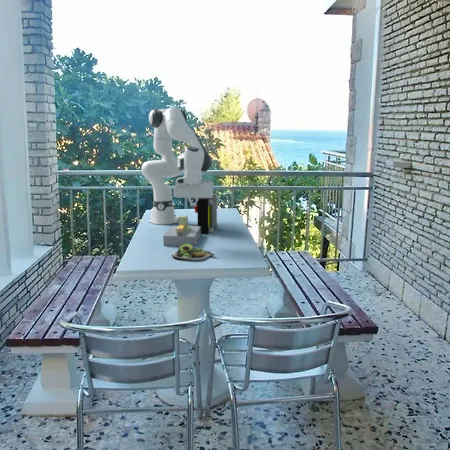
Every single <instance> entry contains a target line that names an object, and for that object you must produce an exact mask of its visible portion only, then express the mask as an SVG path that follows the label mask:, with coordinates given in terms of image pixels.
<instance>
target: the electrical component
mask: <svg viewBox="0 0 450 450" xmlns="http://www.w3.org/2000/svg"><path fill="white" fill-rule="evenodd" d="M218 200H219V197H218V196H217V195H216V194H213V197H212V198H199V200H198V201H197V206H196V207H194V206H193V207H194V213H195V214H197V226H201V235H210V234H212V233H214V230H215V229H216V228H218V227H219V223H218V206H217V205H218ZM195 202H196V200H195ZM195 202H194V203H195Z"/></svg>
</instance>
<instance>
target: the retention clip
mask: <svg viewBox="0 0 450 450" xmlns="http://www.w3.org/2000/svg"><path fill="white" fill-rule="evenodd" d="M178 226H179V225H178ZM184 228H185V225H180V226H179V227H178V228H177V235H178V236H181V235H182V231H183V230H184Z"/></svg>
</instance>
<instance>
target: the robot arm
mask: <svg viewBox="0 0 450 450" xmlns="http://www.w3.org/2000/svg"><path fill="white" fill-rule="evenodd" d="M187 121H188V115H187V113H186V111H185V110H183V109H179V108H178V107H176V106H171V107H169V108H155V109H151V110H150V112H149V114H148V122H149V124H150V126H151V127H152V128H154V129H153V130H154V131H153V147H152V148H153V151H154V152H155V153H156V154H158V155H160V156H161V159H157V160H155V159H154V160H148V161H145V162H143V163H142V165H141V175H142V176H143V178H146V179H147V181H149V182H150V184H151V187H152V191H153V202H152V204H153V205H152V206H153V207H152V208H151V210H150V219H149V220H148V223H151V224H153V225H172V224H179V216H177V214H175V213H176V212H175V207H174V202H173V198H172V197H174V198H176V199H181V198H182V199H183V198H184V199H188V202H189V204H190V205H189V206H190V207H196V206H197V201H198V200H199V198H212V197H213V195H214V190H213V188H214V182H213V181H212V180H211V179H203V173H205V172H208V171H209V170H210V169H211V167H212V165H213V164H212V163H213V161H212V158H211V155H210V154H209V153H208V152H207V150H206V148H205V147H204V146H205V145H204V144H203V143H202V141H201V139H200V138H199V136H198V134H197V132H196V131H195V130H193V129H192V128H191V127H190V126H189V125H188V123H187ZM173 140H175V141H178V142H183V143H186V144H188V145H190V146H188V147H186V148H184V152H182V153H180V154H178V156H177V157H175V155H174V152H173ZM182 172H184V174H183V175H184V176H181V177H178V176H180V175H181V174H182ZM202 172H203V173H202ZM175 177H178V178H176V179H175V183H176V184H175V185H174V187H173V193H172V187H171V185H169V184H167V183H165V181H164V178H165V179H166V178H175ZM172 194H173V196H172ZM192 199H195V200H196V202H193V201H192Z"/></svg>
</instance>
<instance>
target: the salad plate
mask: <svg viewBox="0 0 450 450" xmlns="http://www.w3.org/2000/svg"><path fill="white" fill-rule="evenodd" d="M215 255H216V254H215V253H212V252H211V251H210V250H209V249H204V248H201V247H199V248H196V247H195V246H192V245H191V244H183V245H181V246H179V247H178V250H177V251H175V252H174V253H172V255H171V257H172V258H173V259H175V260H179V261H188V262H189V261H191V262H192V261H194V262H197V261H198V262H199V261H200V262H201V261H203V260H206V259H208V258H210V257H211V256H212V257H213V256H215Z"/></svg>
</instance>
